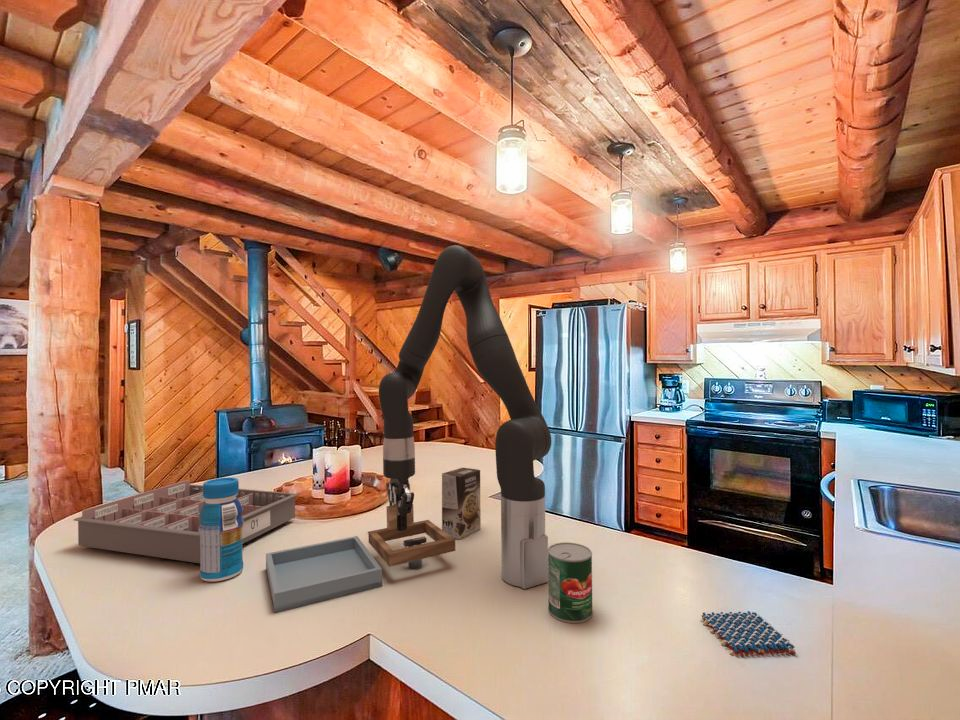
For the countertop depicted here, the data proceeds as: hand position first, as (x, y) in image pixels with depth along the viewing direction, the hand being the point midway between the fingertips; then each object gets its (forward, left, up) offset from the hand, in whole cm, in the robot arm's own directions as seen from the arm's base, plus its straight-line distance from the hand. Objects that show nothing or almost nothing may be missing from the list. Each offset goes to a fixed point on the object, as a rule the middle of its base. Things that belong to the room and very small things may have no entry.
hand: (400, 528), depth 111 cm
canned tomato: (-40, -18, -6) cm, 45 cm away
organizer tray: (+37, +44, -6) cm, 58 cm away
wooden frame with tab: (-7, 0, -2) cm, 7 cm away
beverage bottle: (+8, +37, -6) cm, 39 cm away
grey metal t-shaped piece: (-9, 0, -6) cm, 11 cm away
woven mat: (-60, -38, -6) cm, 72 cm away
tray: (-4, +19, -6) cm, 20 cm away
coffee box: (+4, -18, -6) cm, 19 cm away
